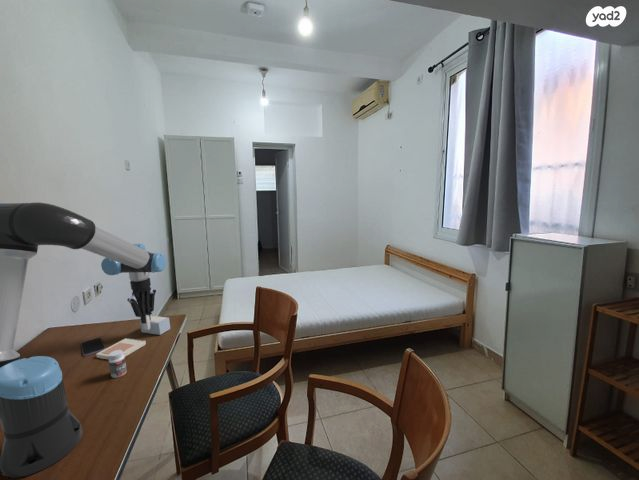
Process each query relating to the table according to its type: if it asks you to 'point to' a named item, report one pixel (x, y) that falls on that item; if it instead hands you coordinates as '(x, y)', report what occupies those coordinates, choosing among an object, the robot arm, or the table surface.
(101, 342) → the smartphone
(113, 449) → the table surface
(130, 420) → the table surface
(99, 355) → the board
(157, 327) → the blue framed panel box
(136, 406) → the table surface
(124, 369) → the pill bottle
